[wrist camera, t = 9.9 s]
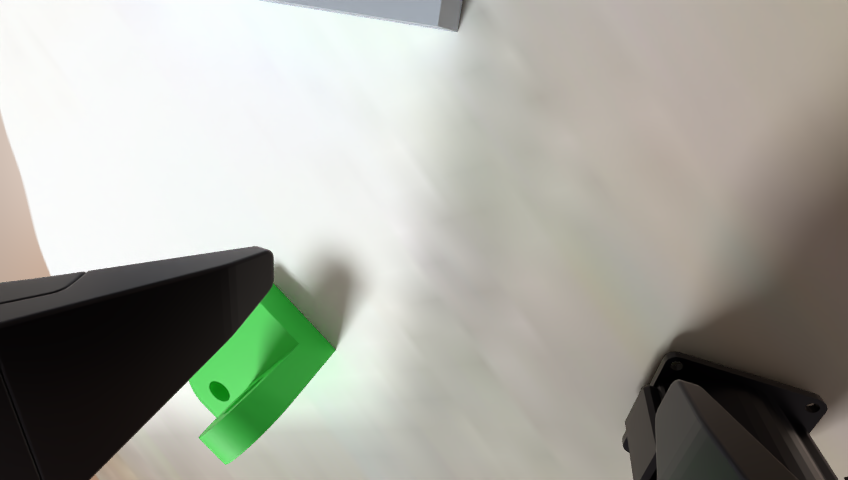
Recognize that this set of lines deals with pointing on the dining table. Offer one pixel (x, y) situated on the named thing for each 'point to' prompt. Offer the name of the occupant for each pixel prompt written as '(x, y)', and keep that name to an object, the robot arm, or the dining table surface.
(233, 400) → the mechanical part
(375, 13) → the socket board
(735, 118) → the dining table surface
